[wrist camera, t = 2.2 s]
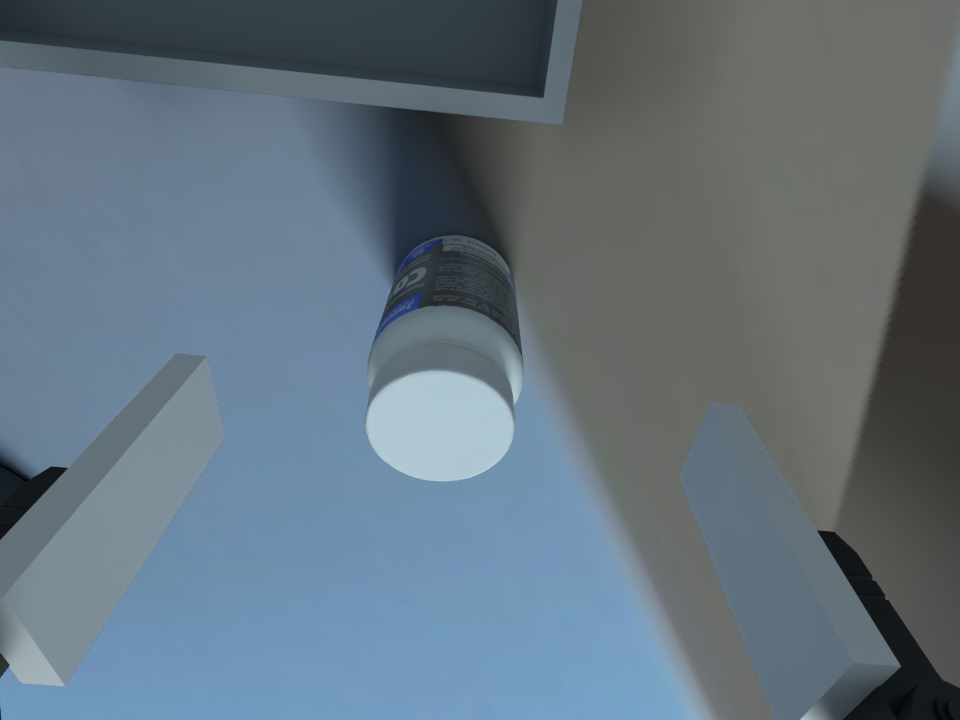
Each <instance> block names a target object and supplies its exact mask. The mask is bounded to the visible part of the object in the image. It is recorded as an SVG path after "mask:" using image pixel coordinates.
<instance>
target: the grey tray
mask: <svg viewBox="0 0 960 720" xmlns="http://www.w3.org/2000/svg"><path fill="white" fill-rule="evenodd" d="M582 2H583V0H0V67H9V68H19V69H29V70H38V71H48V72H57V73H67V74H77V75H86V76H96V77H105V78H115V79H125V80H134V81H144V82H153V83H163V84H173V85H182V86H192V87H201V88H211V89H221V90H230V91H240V92H250V93H259V94H269V95H278V96H288V97H298V98H307V99H317V100H326V101H336V102H346V103H355V104H365V105H374V106H384V107H394V108H403V109H413V110H422V111H432V112H442V113H451V114H461V115H470V116H480V117H490V118H499V119H509V120H518V121H528V122H538V123H547V124H557V125H562V122H563V116H564V110H565V104H566V98H567V92H568V86H569V80H570V74H571V68H572V62H573V56H574V50H575V44H576V38H577V32H578V26H579V20H580V14H581V8H582Z"/></svg>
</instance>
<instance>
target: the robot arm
mask: <svg viewBox="0 0 960 720" xmlns="http://www.w3.org/2000/svg"><path fill="white" fill-rule="evenodd" d="M224 438H225V434H224V430H223V426H222V421H221V417H220V413H219V408H218V404H217V399H216V395H215V391H214V386H213V382H212V378H211V373H210V369H209V365H208V360H207V356H197V355H186V354H175V355H174V356H173V358H172V359H171V360H170V361H169V362H168V363H167V364H166V365H165V366H164V367H163V368H162V369H161V370H160V371H159V372H158V373H157V375H156V376H155V377H154V378H153V379H152V380H151V381H150V382H149V383H148V384H147V385H146V386H145V387H144V388H143V389H142V390H141V391H140V393H139V394H138V395H137V396H136V397H135V398H134V399H133V400H132V401H131V402H130V403H129V404H128V405H127V406H126V407H125V408H124V410H123V411H122V412H121V413H120V414H119V415H118V416H117V417H116V418H115V419H114V420H113V421H112V422H111V423H110V424H109V425H108V426H107V428H106V429H105V430H104V431H103V432H102V433H101V434H100V435H99V436H98V437H97V438H96V439H95V440H94V441H93V442H92V443H91V444H90V446H89V447H88V448H87V449H86V450H85V451H84V452H83V453H82V454H81V455H80V456H79V457H78V458H77V459H76V460H75V461H74V463H73V464H72V465H71V466H70V467H69V468H62V467H50V468H48V469H46V470H45V471H43V472H42V473H40V474H38V475H37V476H35V477H33V478H32V479H30V480H29V481H27V482H25V481H24V480H22V479H21V478H19V477H17V476H16V475H14V474H12V473H11V472H9V471H8V470H6V469H4V468H2V467H0V678H1V676H2V675H3V674H4V672H5V671H6V670H7V668H8V667H9V668H10V669H11V670H12V671H13V673H14V674H15V675H16V677H17V678H18V679H19V680H20V682H21V683H26V684H39V685H53V686H66V685H67V683H68V682H69V680H70V678H71V677H72V675H73V674H74V672H75V671H76V669H77V668H78V666H79V664H80V663H81V661H82V660H83V658H84V657H85V655H86V653H87V652H88V650H89V649H90V647H91V646H92V644H93V643H94V641H95V639H96V638H97V636H98V635H99V633H100V632H101V630H102V629H103V627H104V625H105V624H106V622H107V621H108V619H109V618H110V616H111V614H112V613H113V611H114V610H115V608H116V607H117V605H118V604H119V602H120V600H121V599H122V597H123V596H124V594H125V593H126V591H127V590H128V588H129V586H130V585H131V583H132V582H133V580H134V579H135V577H136V575H137V574H138V572H139V571H140V569H141V568H142V566H143V565H144V563H145V561H146V560H147V558H148V557H149V555H150V554H151V552H152V551H153V549H154V547H155V546H156V544H157V543H158V541H159V540H160V538H161V536H162V535H163V533H164V532H165V530H166V529H167V527H168V526H169V524H170V522H171V521H172V519H173V518H174V516H175V515H176V513H177V512H178V510H179V508H180V507H181V505H182V504H183V502H184V501H185V499H186V497H187V496H188V494H189V493H190V491H191V490H192V488H193V487H194V485H195V483H196V482H197V480H198V479H199V477H200V476H201V474H202V473H203V471H204V469H205V468H206V466H207V465H208V463H209V462H210V460H211V458H212V457H213V455H214V454H215V452H216V451H217V449H218V448H219V446H220V444H221V443H222V441H223V440H224ZM679 478H680V481H681V483H682V486H683V488H684V491H685V493H686V496H687V498H688V501H689V504H690V506H691V509H692V511H693V514H694V516H695V519H696V521H697V524H698V526H699V529H700V531H701V534H702V537H703V539H704V542H705V544H706V547H707V549H708V552H709V554H710V557H711V559H712V562H713V564H714V567H715V569H716V572H717V575H718V577H719V580H720V582H721V585H722V587H723V590H724V592H725V595H726V597H727V600H728V602H729V605H730V608H731V610H732V613H733V615H734V618H735V620H736V623H737V625H738V628H739V630H740V633H741V635H742V638H743V641H744V643H745V646H746V648H747V651H748V653H749V656H750V658H751V661H752V663H753V666H754V668H755V671H756V673H757V676H758V679H759V681H760V684H761V686H762V689H763V691H764V694H765V696H766V699H767V701H768V704H769V706H770V709H771V712H772V714H773V717H774V719H775V720H960V688H958V687H956V686H954V685H952V684H950V683H948V682H945V681H943V680H942V679H941V677H940V676H939V675H938V673H937V672H936V671H935V669H934V668H933V666H932V665H931V663H930V662H929V660H928V659H927V657H926V656H925V654H924V653H923V651H922V650H921V648H920V647H919V645H918V644H917V642H916V641H915V639H914V638H913V636H912V635H911V633H910V632H909V630H908V629H907V627H906V626H905V624H904V623H903V621H902V620H901V618H900V617H899V615H898V614H897V612H896V611H895V609H894V608H893V607H892V605H891V603H890V602H889V601H888V600H886V599H885V594H884V593H883V591H882V590H881V588H880V587H879V586H878V584H877V582H876V581H873V580H872V575H871V573H870V572H869V570H868V569H867V567H866V566H865V564H864V563H863V561H862V560H861V558H860V557H859V555H858V554H857V553H856V552H855V551H854V550H853V549H852V548H851V547H850V546H849V545H847V543H845V542H844V541H843V540H842V539H841V538H840V537H839V536H838V535H837V534H836V533H835V532H829V531H817V530H816V528H815V527H814V525H813V524H812V522H811V520H810V519H809V517H808V516H807V514H806V512H805V511H804V509H803V508H802V506H801V504H800V503H799V501H798V499H797V498H796V496H795V495H794V493H793V491H792V490H791V488H790V487H789V485H788V483H787V482H786V480H785V478H784V477H783V475H782V474H781V472H780V470H779V469H778V467H777V466H776V464H775V462H774V461H773V459H772V458H771V456H770V454H769V453H768V451H767V449H766V448H765V446H764V445H763V443H762V441H761V440H760V438H759V437H758V435H757V433H756V432H755V430H754V428H753V427H752V425H751V424H750V422H749V420H748V419H747V417H746V416H745V414H744V412H743V411H742V409H741V408H740V406H739V405H729V404H718V403H710V406H709V408H708V410H707V413H706V415H705V417H704V420H703V422H702V424H701V427H700V429H699V431H698V434H697V436H696V438H695V441H694V443H693V445H692V448H691V450H690V452H689V455H688V457H687V459H686V462H685V464H684V466H683V469H682V471H681V474H680V476H679ZM0 720H1V710H0Z"/></svg>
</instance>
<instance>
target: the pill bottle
mask: <svg viewBox="0 0 960 720" xmlns="http://www.w3.org/2000/svg"><path fill="white" fill-rule="evenodd" d="M523 370H524V366H523V357H522V349H521V340H520V329H519V320H518V312H517V301H516V292H515V285H514V281H513V277H512V274H511V272H510V269H509V267H508V266H507V264H506V262H505V261H504V259H503V258H502V257H501V256H500V255H499V254H498V253H497V252H496V251H495V250H494V249H492V248H491V247H490V246H488V245H486V244H485V243H483V242H481V241H479V240H476V239H473V238H470V237H465V236H460V235H449V236H440V237H436V238H433V239H430V240H428V241H426V242H424V243H422V244H420V245H419V246H417V247H416V248H414V249H413V250H412V251H411V252H410V253H409V254H408V256H407V257H406V258H405V259H404V261H403V262H402V264H401V265H400V267H399V270H398V272H397V275H396V277H395V280H394V283H393V286H392V289H391V292H390V294H389V297H388V300H387V303H386V306H385V309H384V312H383V315H382V319H381V321H380V324H379V327H378V329H377V332H376V336H375V339H374V342H373V345H372V348H371V351H370V354H369V359H368V382H369V386H370V395H369V401H368V406H367V410H366V416H365V426H366V432H367V436H368V438H369V441H370V443H371V445H372V447H373V448H374V450H375V451H376V452H377V454H378V455H379V456H380V457H381V458H382V459H383V460H384V461H385V462H387V463H388V464H389V465H391V466H392V467H394V468H395V469H397V470H399V471H401V472H403V473H405V474H407V475H409V476H412V477H416V478H419V479H424V480H430V481H454V480H461V479H466V478H469V477H472V476H475V475H478V474H480V473H482V472H484V471H486V470H488V469H489V468H491V467H492V466H493V465H495V464H496V463H497V462H498V461H499V460H500V459H501V458H502V457H503V456H504V454H505V453H506V452H507V450H508V449H509V447H510V445H511V442H512V439H513V436H514V431H515V416H514V405H515V403H516V401H517V400H518V397H519V395H520V392H521V388H522V384H523Z"/></svg>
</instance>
